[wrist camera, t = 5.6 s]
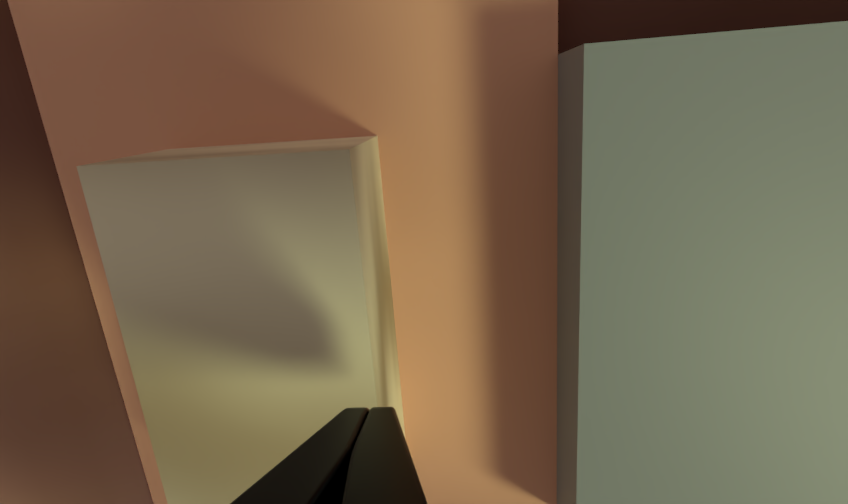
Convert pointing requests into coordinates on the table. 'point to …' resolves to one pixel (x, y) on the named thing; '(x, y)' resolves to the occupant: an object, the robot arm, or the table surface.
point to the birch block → (247, 299)
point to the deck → (704, 269)
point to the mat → (400, 172)
